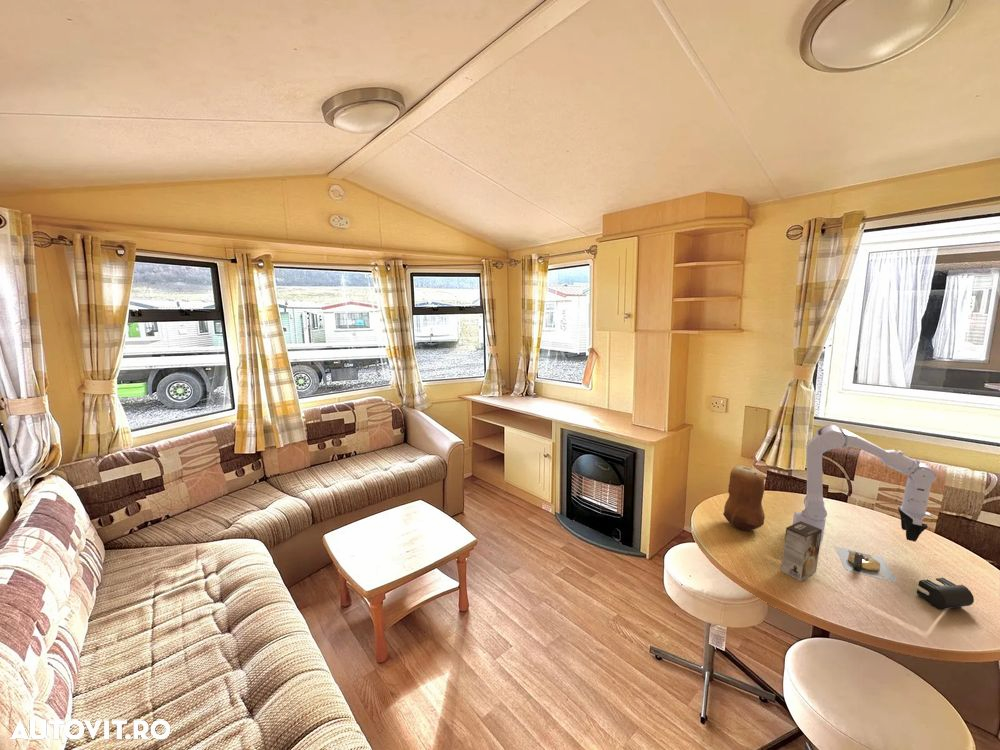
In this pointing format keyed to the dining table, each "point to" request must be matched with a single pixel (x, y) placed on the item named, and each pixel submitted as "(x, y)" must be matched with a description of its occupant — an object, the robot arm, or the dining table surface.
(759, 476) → the butternut squash
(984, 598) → the dining table surface
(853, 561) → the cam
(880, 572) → the board
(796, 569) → the coffee box
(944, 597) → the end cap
